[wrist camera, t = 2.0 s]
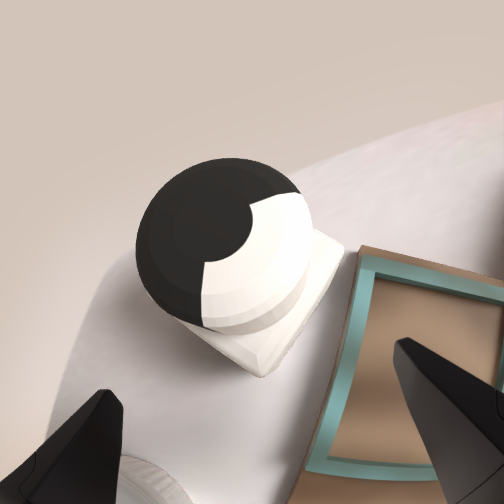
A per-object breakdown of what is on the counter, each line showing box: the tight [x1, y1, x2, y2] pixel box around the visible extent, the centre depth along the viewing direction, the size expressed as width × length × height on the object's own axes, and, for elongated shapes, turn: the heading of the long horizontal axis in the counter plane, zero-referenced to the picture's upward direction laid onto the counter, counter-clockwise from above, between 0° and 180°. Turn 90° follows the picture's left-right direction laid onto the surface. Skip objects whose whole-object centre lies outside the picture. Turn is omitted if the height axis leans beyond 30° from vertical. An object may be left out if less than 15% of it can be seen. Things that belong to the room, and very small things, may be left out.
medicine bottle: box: [136, 158, 344, 378], centre depth 14 cm, size 7×7×12 cm
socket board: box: [286, 245, 504, 504], centre depth 14 cm, size 20×16×2 cm
